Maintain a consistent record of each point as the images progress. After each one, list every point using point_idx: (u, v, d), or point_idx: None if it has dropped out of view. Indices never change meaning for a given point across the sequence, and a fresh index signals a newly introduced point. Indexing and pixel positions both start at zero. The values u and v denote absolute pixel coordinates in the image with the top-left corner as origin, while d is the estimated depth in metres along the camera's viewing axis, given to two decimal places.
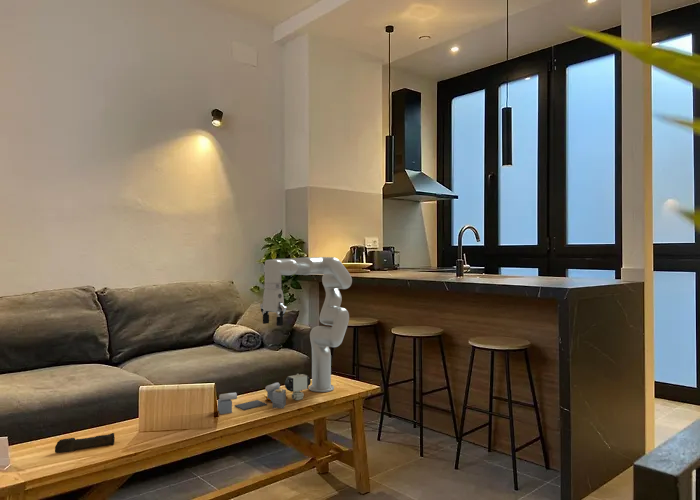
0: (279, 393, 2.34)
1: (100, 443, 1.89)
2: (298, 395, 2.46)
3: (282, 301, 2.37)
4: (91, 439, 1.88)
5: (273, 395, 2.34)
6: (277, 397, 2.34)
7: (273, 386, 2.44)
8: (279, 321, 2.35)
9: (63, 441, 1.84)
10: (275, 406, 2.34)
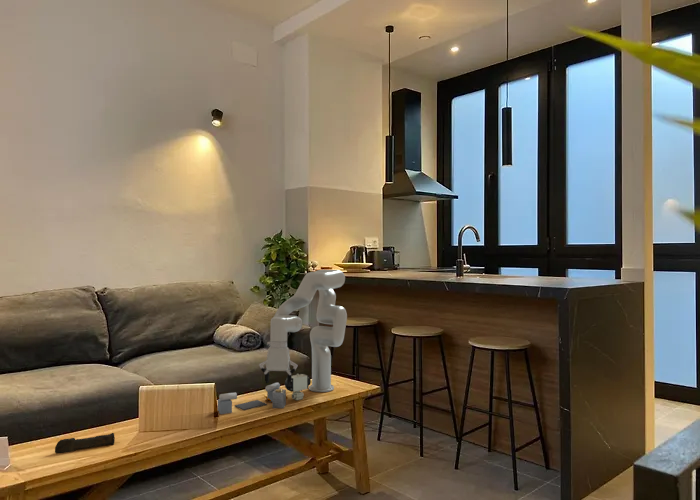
0: (279, 393, 2.34)
1: (100, 443, 1.89)
2: (298, 395, 2.46)
3: None
4: (91, 439, 1.88)
5: (273, 395, 2.34)
6: (277, 397, 2.34)
7: (273, 386, 2.44)
8: None
9: (63, 441, 1.84)
10: (275, 406, 2.34)
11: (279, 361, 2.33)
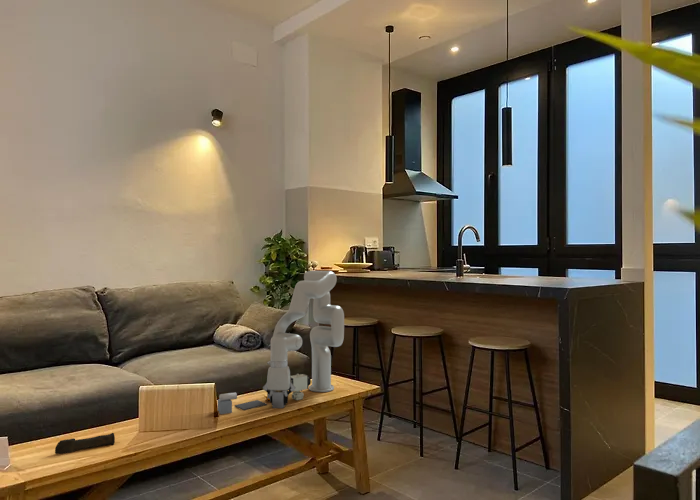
0: (279, 393, 2.34)
1: (100, 443, 1.89)
2: (298, 395, 2.46)
3: (267, 378, 2.36)
4: (91, 439, 1.88)
5: (273, 395, 2.34)
6: (277, 397, 2.34)
7: None
8: None
9: (63, 442, 1.83)
10: (275, 406, 2.34)
11: (280, 381, 2.34)
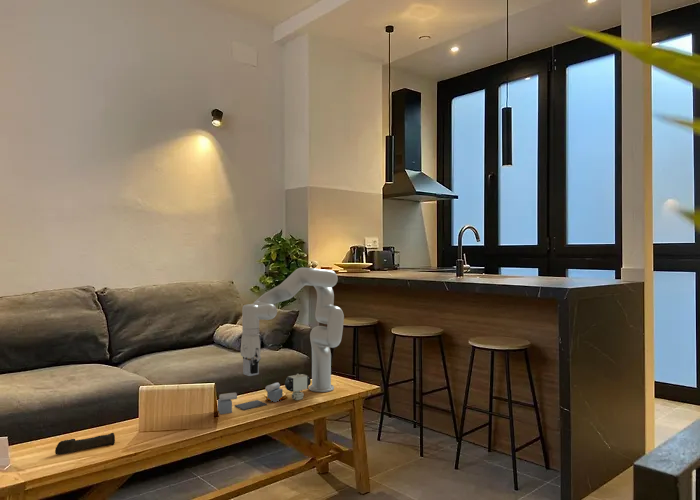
0: (246, 360, 2.35)
1: (101, 443, 1.89)
2: (298, 395, 2.46)
3: None
4: (92, 439, 1.88)
5: (243, 361, 2.37)
6: (245, 364, 2.36)
7: (273, 386, 2.44)
8: None
9: (64, 442, 1.82)
10: (244, 372, 2.37)
11: (246, 348, 2.35)
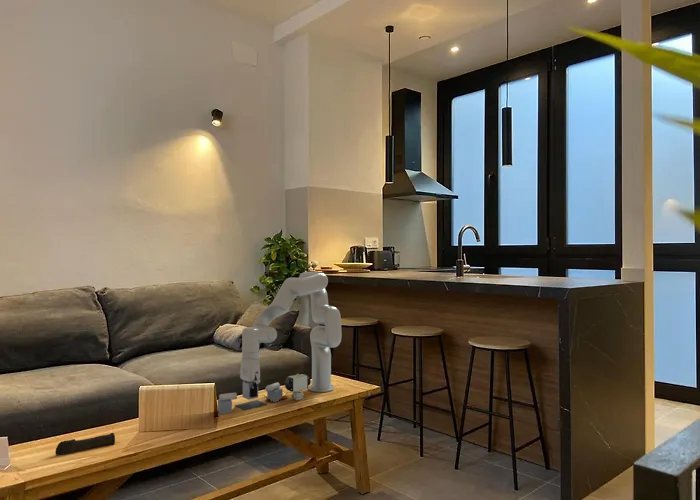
0: (246, 384, 2.35)
1: (101, 443, 1.89)
2: (298, 395, 2.46)
3: None
4: (92, 440, 1.87)
5: (243, 384, 2.37)
6: (245, 387, 2.36)
7: (273, 386, 2.44)
8: None
9: (64, 443, 1.82)
10: (244, 396, 2.37)
11: (246, 371, 2.35)
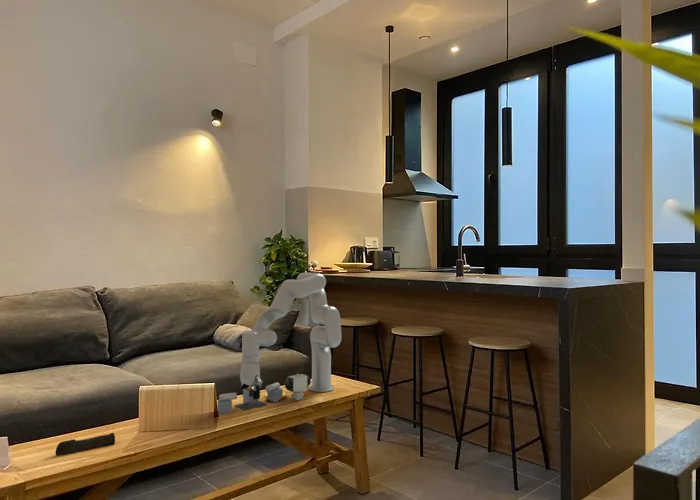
0: (246, 391, 2.36)
1: (101, 443, 1.89)
2: (298, 395, 2.46)
3: None
4: (92, 440, 1.87)
5: (243, 391, 2.38)
6: (245, 394, 2.36)
7: (273, 386, 2.44)
8: None
9: (64, 443, 1.82)
10: (244, 403, 2.37)
11: (246, 375, 2.35)
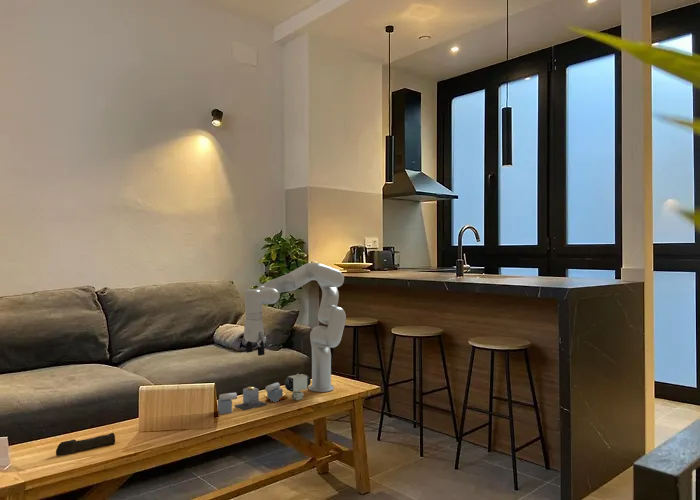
0: (246, 391, 2.36)
1: (101, 443, 1.89)
2: (298, 395, 2.46)
3: None
4: (92, 440, 1.87)
5: (243, 391, 2.38)
6: (245, 394, 2.36)
7: (273, 386, 2.44)
8: None
9: (65, 443, 1.82)
10: (244, 403, 2.37)
11: (250, 332, 2.38)
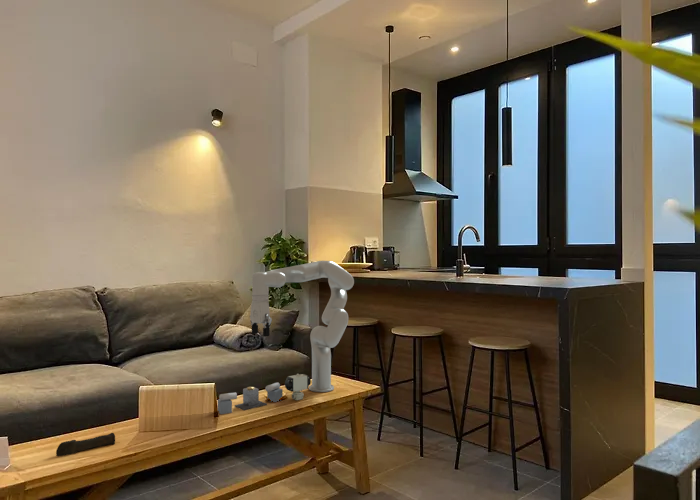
0: (246, 391, 2.36)
1: (101, 443, 1.89)
2: (298, 395, 2.46)
3: None
4: (92, 440, 1.87)
5: (243, 391, 2.38)
6: (245, 394, 2.36)
7: (273, 386, 2.44)
8: None
9: (65, 444, 1.81)
10: (244, 403, 2.37)
11: (256, 313, 2.45)
